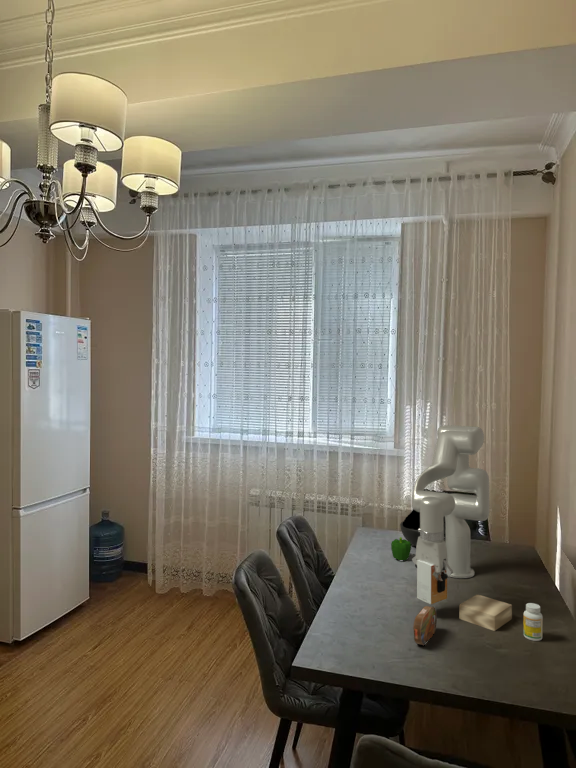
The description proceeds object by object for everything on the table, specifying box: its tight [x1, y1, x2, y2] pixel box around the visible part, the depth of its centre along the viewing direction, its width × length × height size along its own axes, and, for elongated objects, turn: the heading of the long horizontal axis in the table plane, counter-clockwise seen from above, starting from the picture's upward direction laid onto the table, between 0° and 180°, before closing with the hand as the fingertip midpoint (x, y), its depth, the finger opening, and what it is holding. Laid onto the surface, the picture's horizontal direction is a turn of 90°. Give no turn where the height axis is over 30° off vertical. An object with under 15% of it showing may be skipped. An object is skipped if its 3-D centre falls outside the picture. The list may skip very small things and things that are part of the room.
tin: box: [412, 605, 438, 646], centre depth 168 cm, size 15×3×8 cm, turn 148°
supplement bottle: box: [522, 602, 544, 642], centre depth 168 cm, size 5×5×10 cm
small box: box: [416, 560, 448, 605], centre depth 185 cm, size 8×6×13 cm
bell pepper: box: [390, 536, 412, 561], centre depth 238 cm, size 8×8×10 cm
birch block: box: [458, 593, 513, 632], centre depth 181 cm, size 12×12×5 cm
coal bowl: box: [399, 509, 445, 547], centre depth 255 cm, size 20×20×19 cm
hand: (432, 587), depth 185 cm, fingers closed on small box, 6 cm apart
